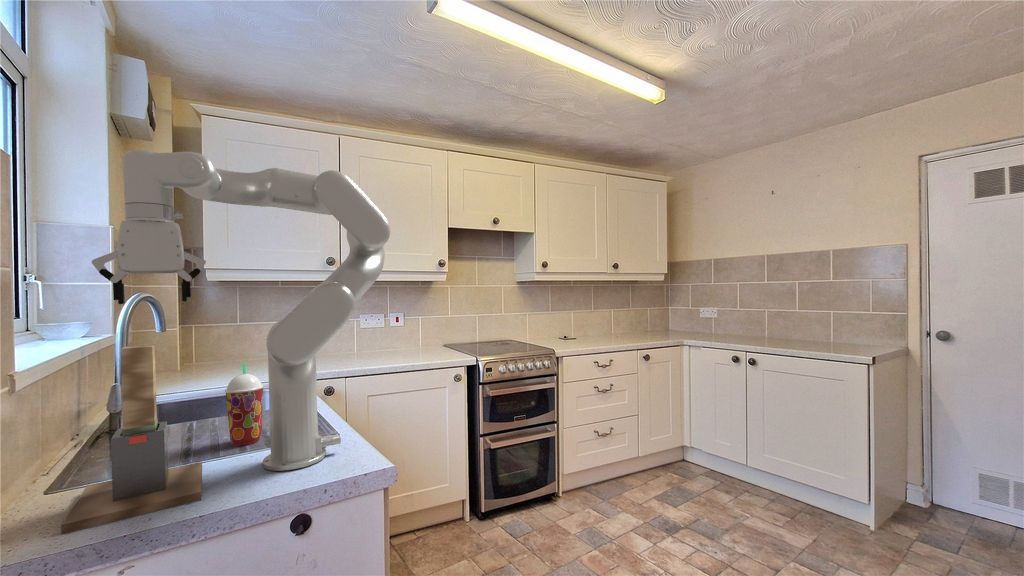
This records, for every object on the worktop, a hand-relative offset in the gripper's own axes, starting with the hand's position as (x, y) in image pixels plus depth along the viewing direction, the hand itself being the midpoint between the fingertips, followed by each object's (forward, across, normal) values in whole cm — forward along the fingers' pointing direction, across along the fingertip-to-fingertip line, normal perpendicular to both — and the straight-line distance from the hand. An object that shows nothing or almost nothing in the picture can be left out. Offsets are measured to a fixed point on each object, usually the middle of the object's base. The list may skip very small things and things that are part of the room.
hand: (154, 302), depth 86 cm
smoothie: (+36, -16, -18) cm, 44 cm away
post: (+26, +3, +4) cm, 26 cm away
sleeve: (+35, +3, +4) cm, 35 cm away
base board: (+36, +3, +4) cm, 36 cm away
